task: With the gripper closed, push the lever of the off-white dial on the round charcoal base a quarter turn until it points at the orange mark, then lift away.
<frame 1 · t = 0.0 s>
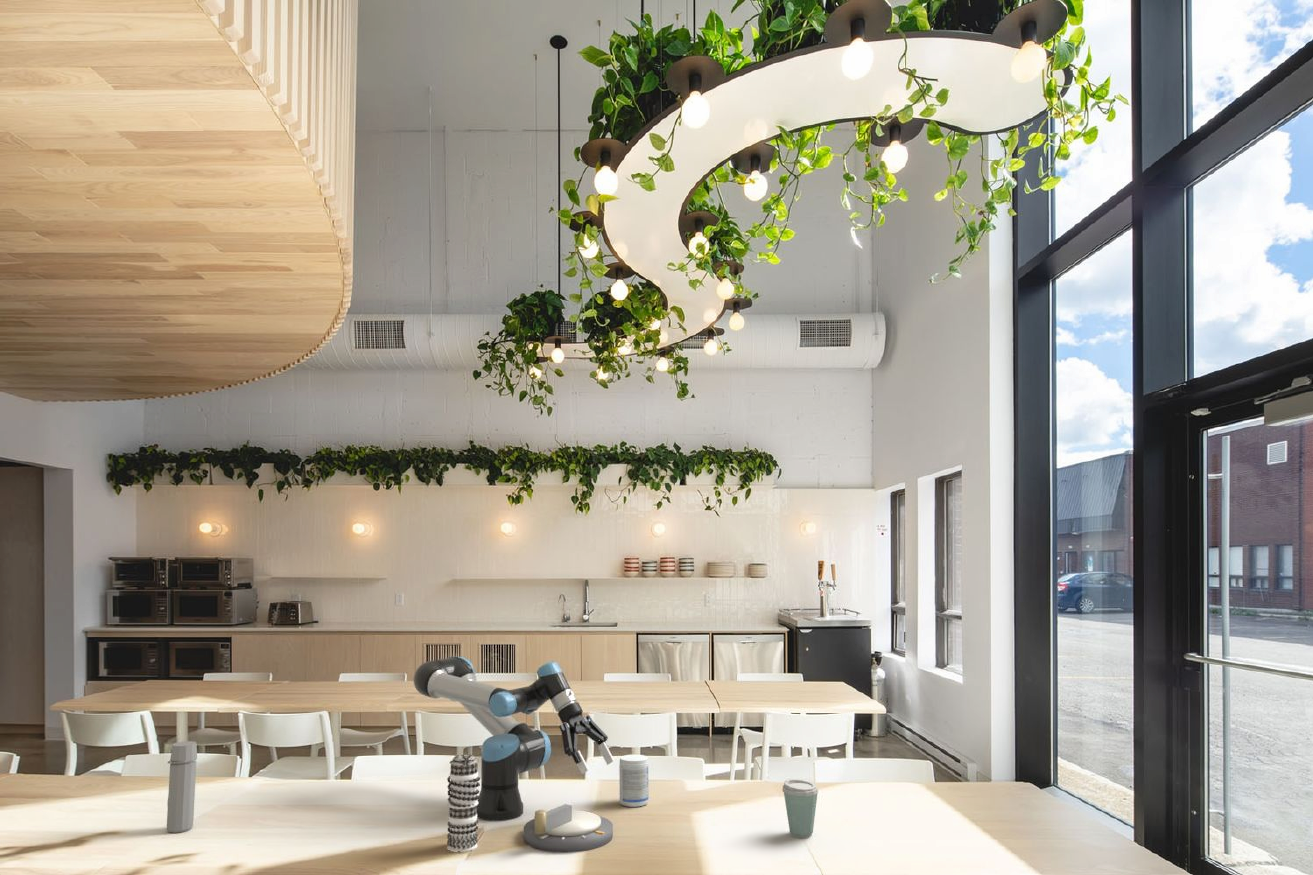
hand: (598, 767, 287), 15 cm above the table, tool tilted 35°, fingers open, 13 cm apart
water bottle: (177, 829, 274), on the table
decorative candle: (462, 847, 259), on the table
supplement tub: (633, 804, 301), on the table
dial: (563, 815, 266), point 7 cm above the table, hinge at 0.0°
disposable coffee cup: (801, 835, 270), on the table
dial base: (568, 836, 268), on the table
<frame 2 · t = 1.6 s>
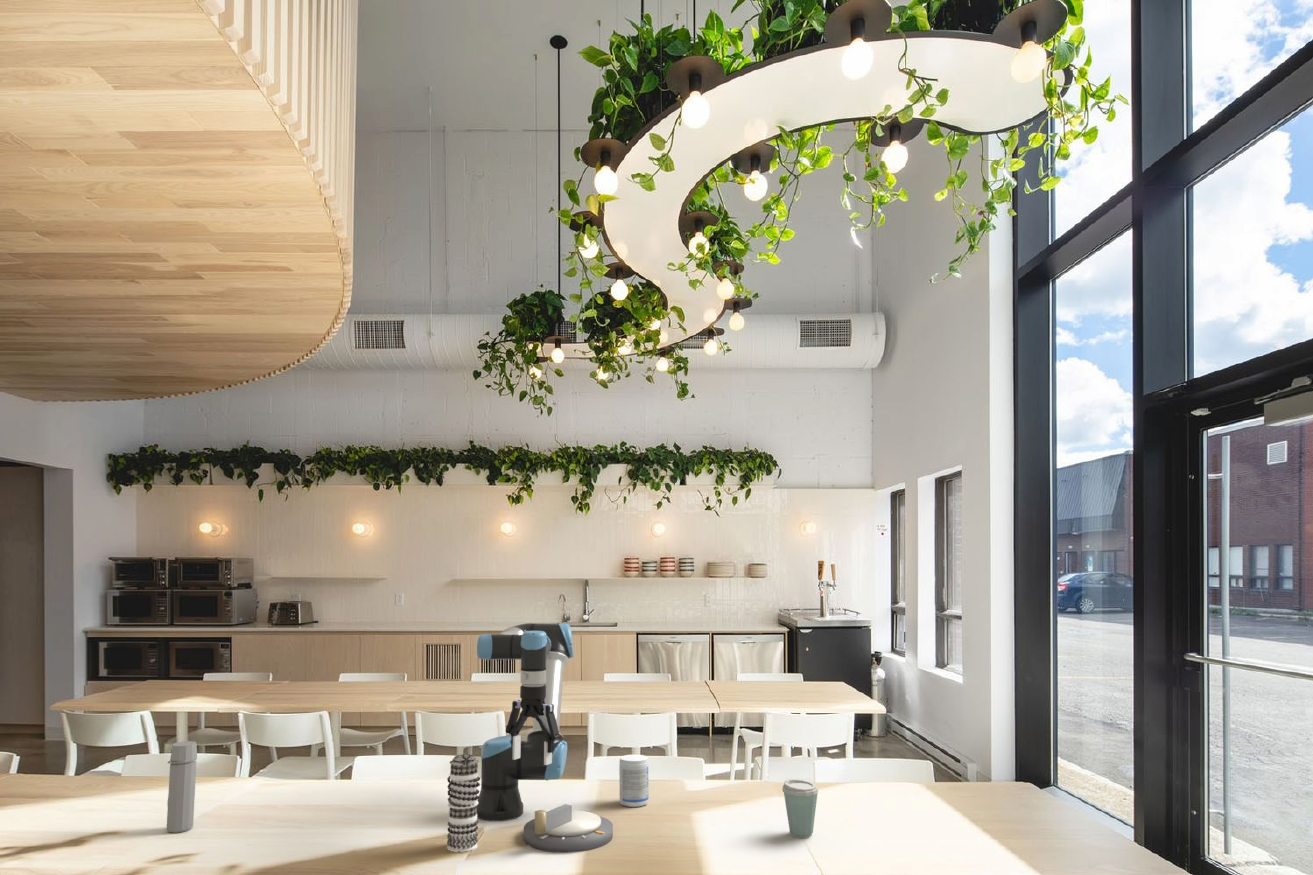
hand: (532, 761, 267), 22 cm above the table, tool pointing down, fingers open, 11 cm apart
nothing on the table moved.
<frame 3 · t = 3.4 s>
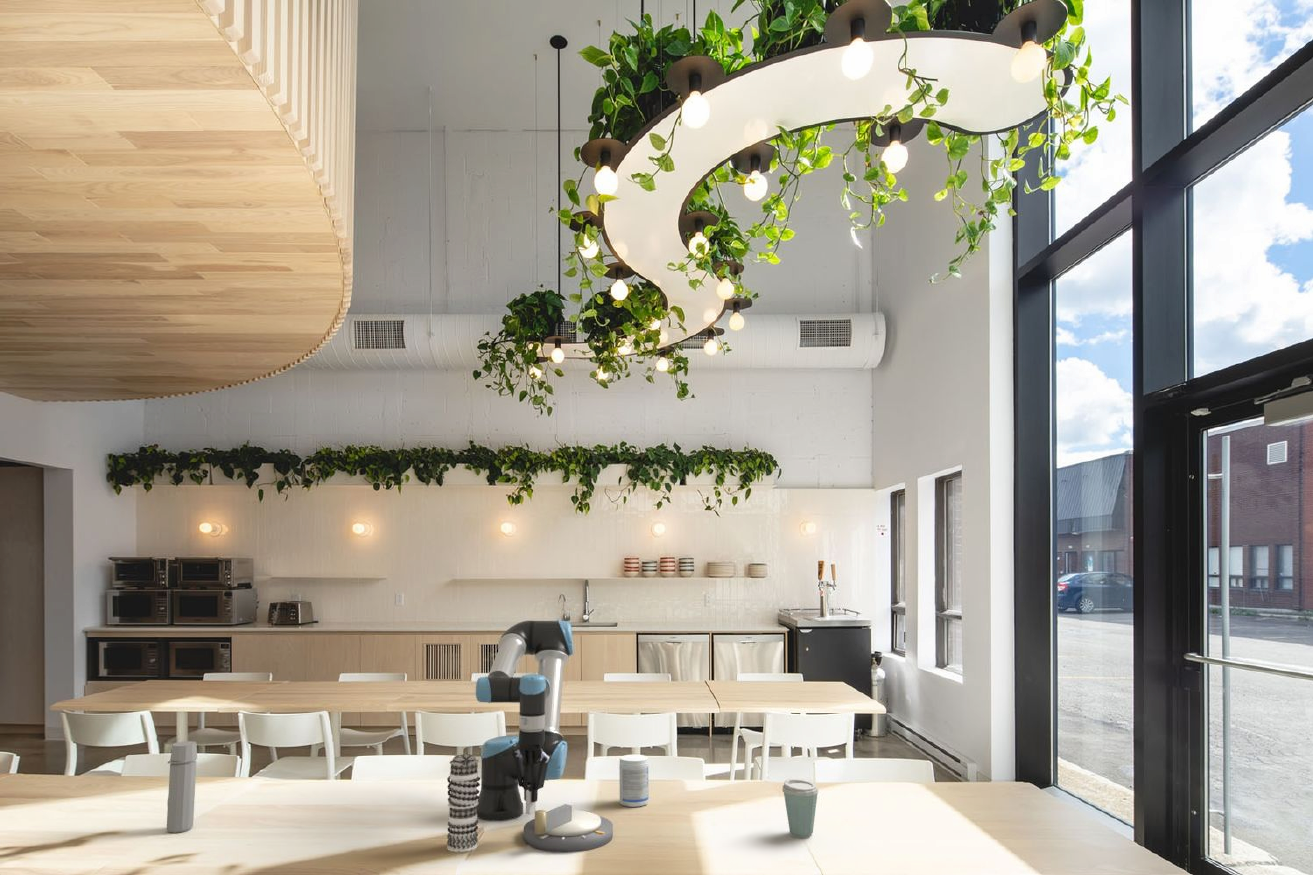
hand: (530, 812, 266), 8 cm above the table, tool pointing down, fingers closed
nothing on the table moved.
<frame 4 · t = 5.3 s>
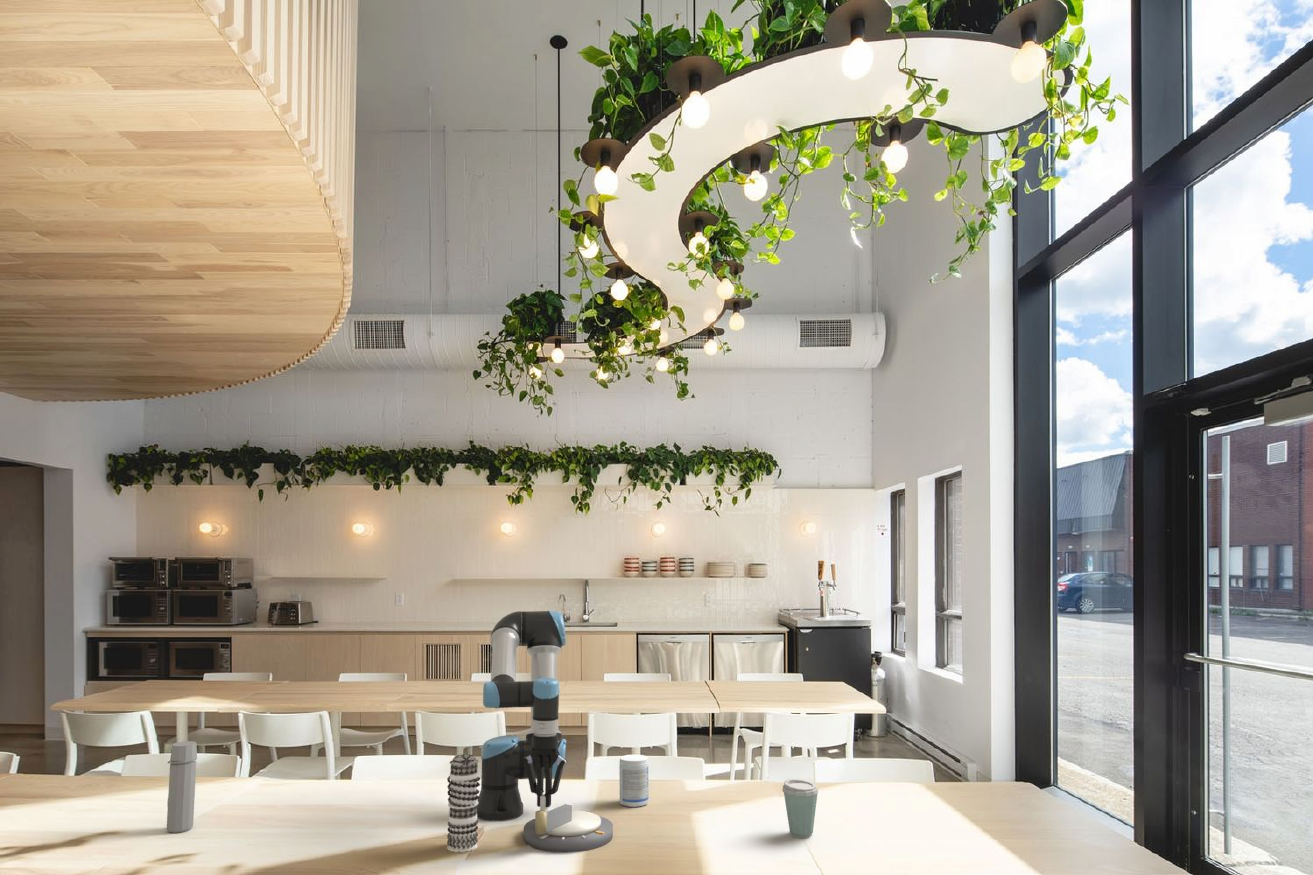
hand: (543, 818, 262), 7 cm above the table, tool pointing down, fingers closed
dial: (563, 815, 266), point 7 cm above the table, hinge at 0.9°, touching gripper
everything else where it was.
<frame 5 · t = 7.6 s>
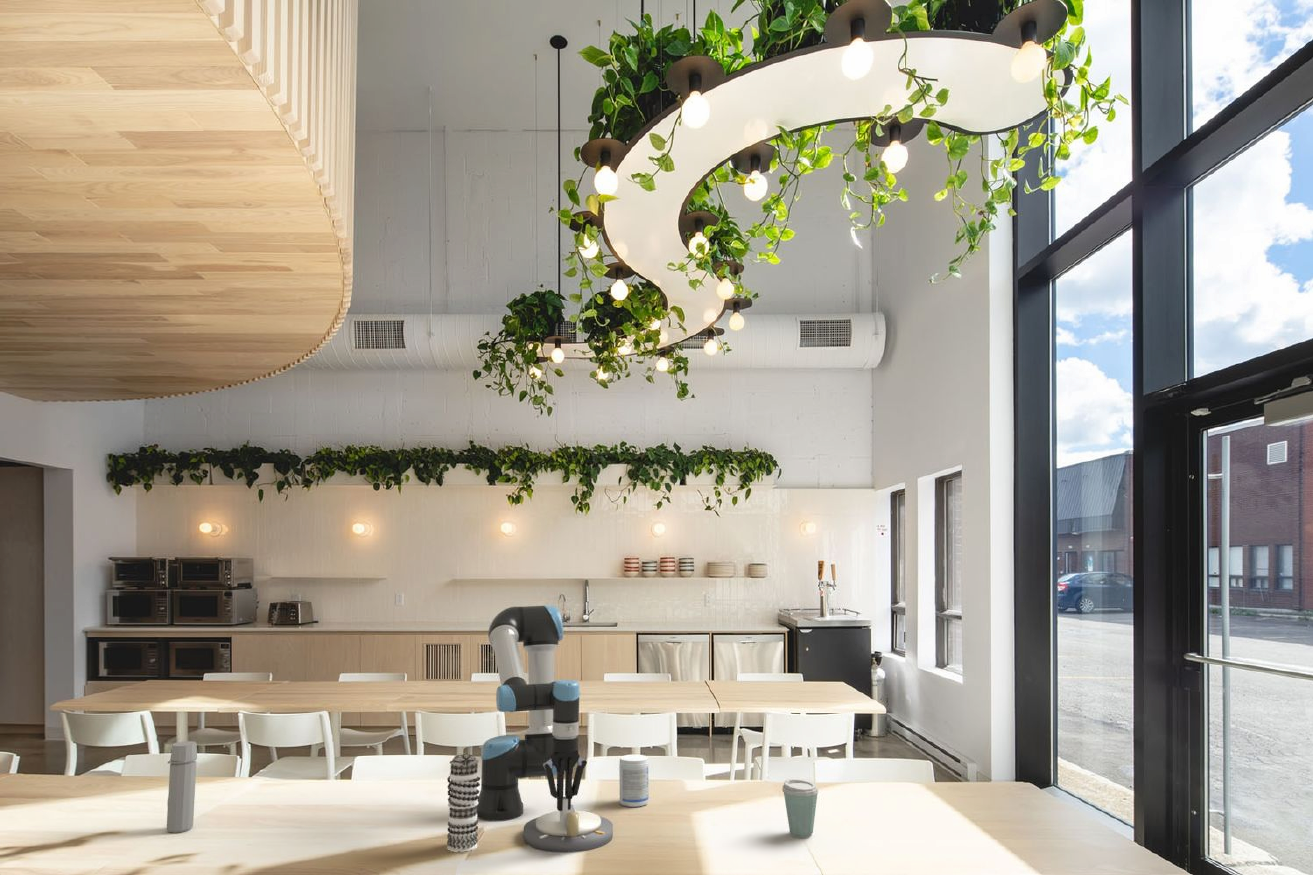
hand: (563, 821, 260), 7 cm above the table, tool pointing down, fingers closed
dial: (569, 815, 266), point 7 cm above the table, hinge at 42.7°, touching gripper
everything else where it was.
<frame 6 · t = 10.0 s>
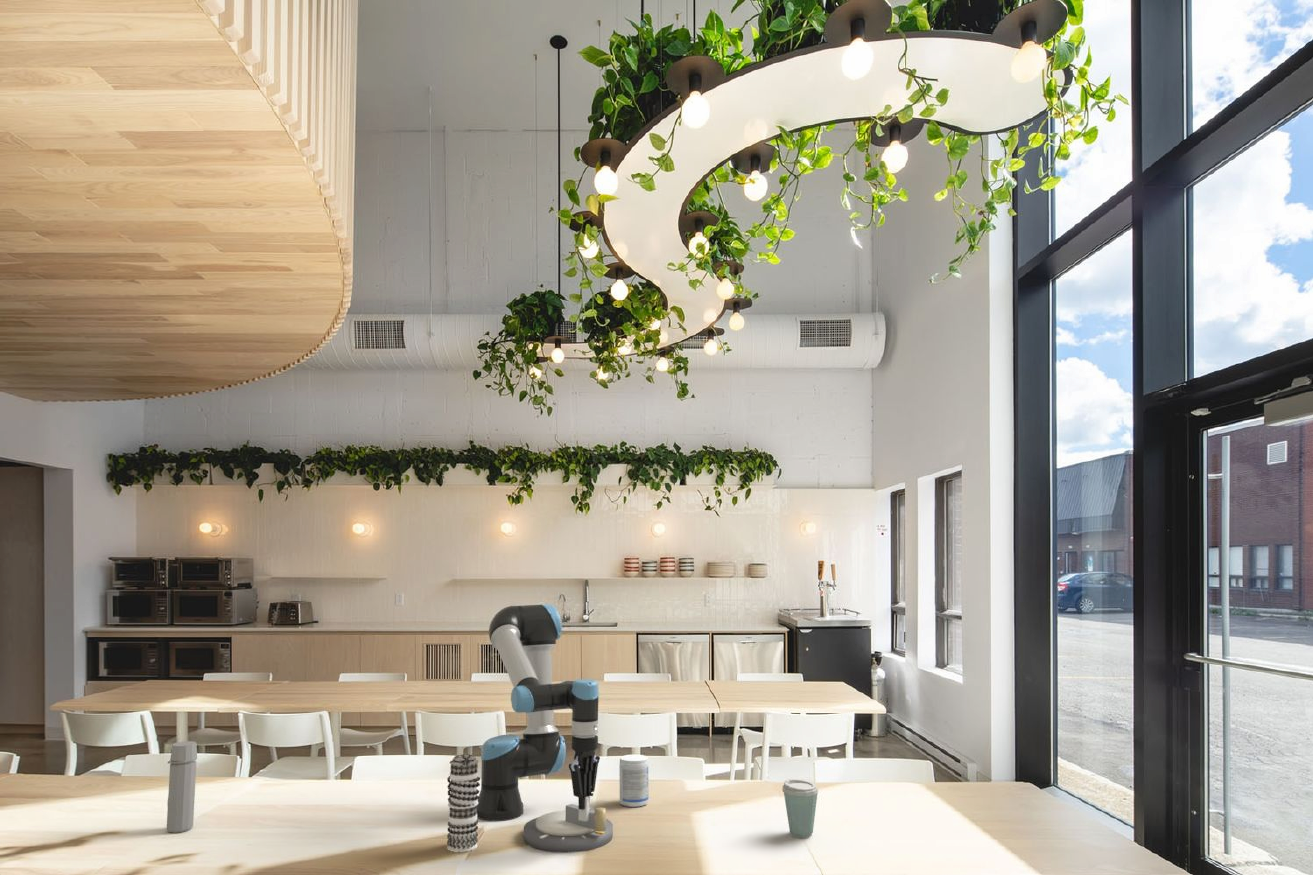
hand: (583, 819, 261), 7 cm above the table, tool pointing down, fingers closed
dial: (574, 814, 267), point 7 cm above the table, hinge at 81.0°, touching gripper
everything else where it was.
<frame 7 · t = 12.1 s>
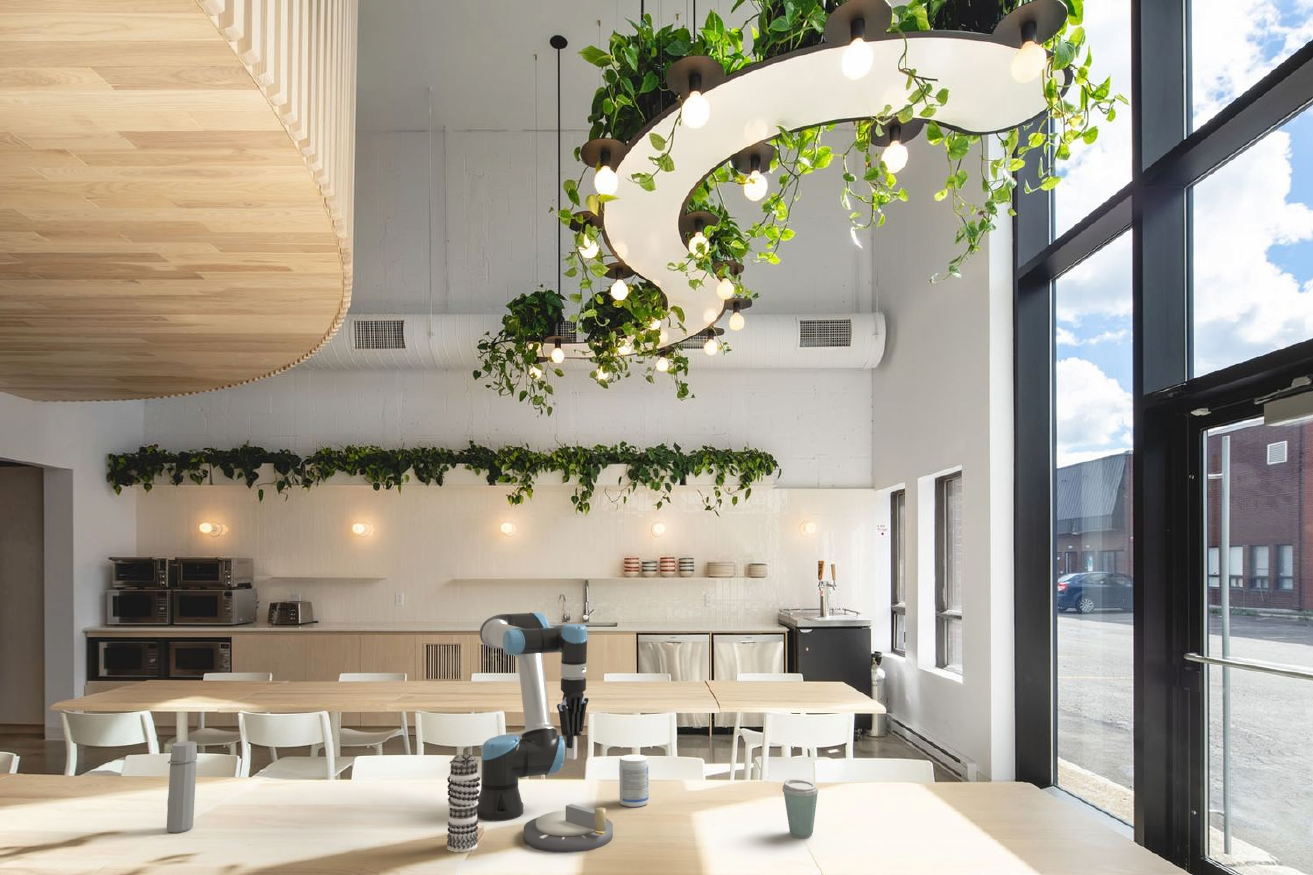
hand: (571, 758, 271), 22 cm above the table, tool pointing down, fingers closed
dial: (574, 814, 267), point 7 cm above the table, hinge at 81.0°
everything else where it was.
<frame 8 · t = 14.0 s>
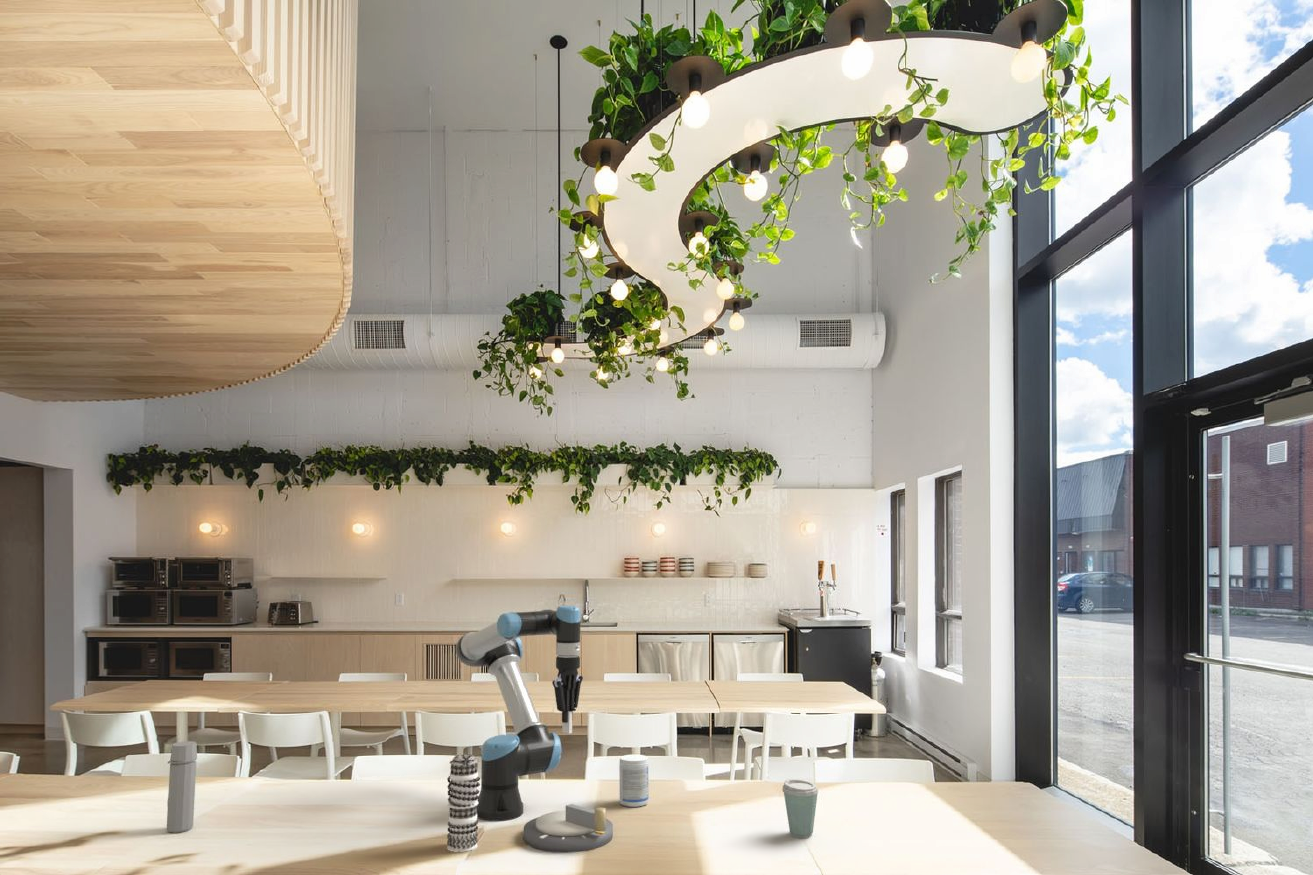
hand: (567, 732, 286), 26 cm above the table, tool pointing down, fingers closed
nothing on the table moved.
at the end: dial at +81° (first picture: +0°); decorative candle moved 0.2 cm from its start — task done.
